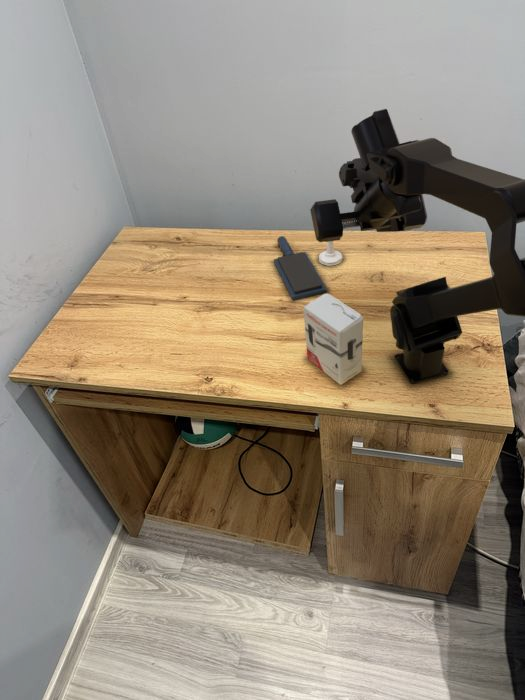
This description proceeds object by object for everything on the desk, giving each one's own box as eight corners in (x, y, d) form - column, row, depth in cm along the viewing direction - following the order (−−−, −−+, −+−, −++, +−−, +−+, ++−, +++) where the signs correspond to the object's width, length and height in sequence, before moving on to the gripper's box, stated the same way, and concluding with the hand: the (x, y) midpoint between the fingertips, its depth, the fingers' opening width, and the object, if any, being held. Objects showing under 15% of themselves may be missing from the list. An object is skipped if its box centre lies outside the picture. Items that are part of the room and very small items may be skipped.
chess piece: (329, 250, 108) (328, 207, 101) (347, 257, 105) (347, 214, 98) (314, 260, 105) (312, 217, 98) (332, 268, 103) (331, 225, 96)
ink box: (305, 359, 85) (301, 304, 76) (327, 345, 86) (326, 290, 78) (340, 386, 79) (340, 331, 71) (362, 371, 81) (365, 315, 73)
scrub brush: (327, 292, 97) (326, 283, 96) (292, 300, 96) (291, 292, 95) (295, 239, 112) (295, 231, 111) (265, 245, 111) (265, 238, 110)
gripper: (431, 139, 77) (392, 184, 92) (315, 152, 74) (294, 196, 89) (447, 208, 76) (404, 241, 91) (330, 224, 73) (306, 256, 88)
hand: (353, 232), depth 90 cm, fingers open, 9 cm apart
